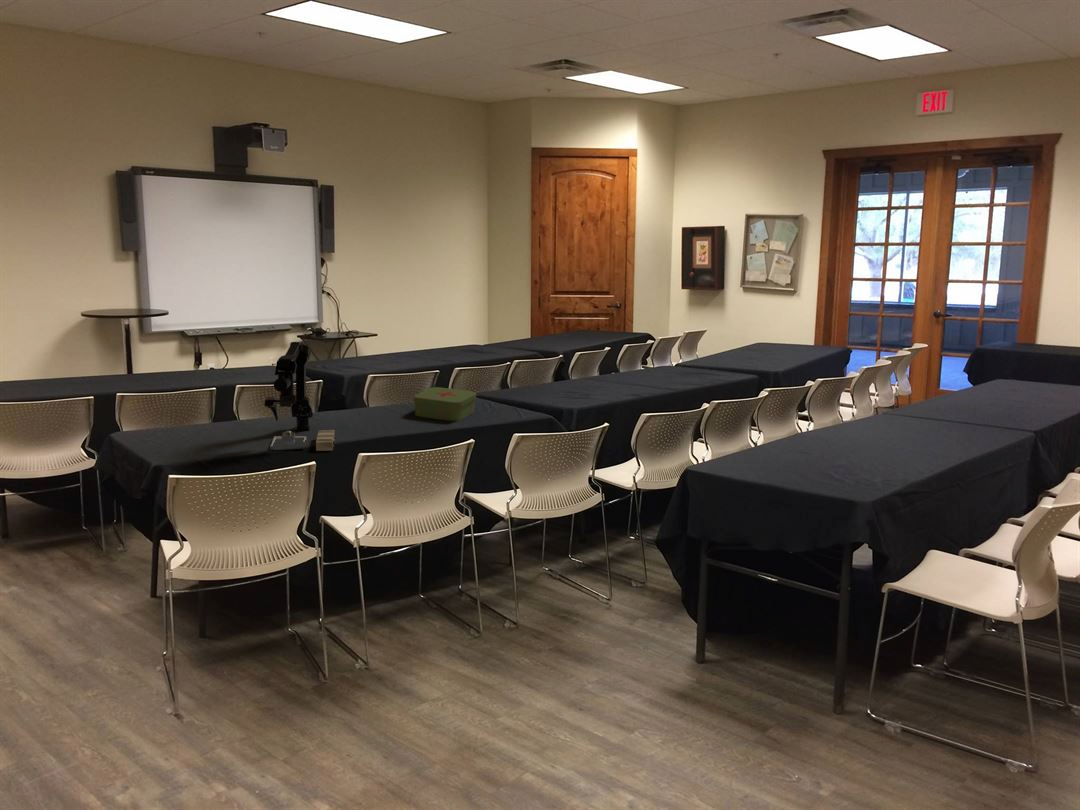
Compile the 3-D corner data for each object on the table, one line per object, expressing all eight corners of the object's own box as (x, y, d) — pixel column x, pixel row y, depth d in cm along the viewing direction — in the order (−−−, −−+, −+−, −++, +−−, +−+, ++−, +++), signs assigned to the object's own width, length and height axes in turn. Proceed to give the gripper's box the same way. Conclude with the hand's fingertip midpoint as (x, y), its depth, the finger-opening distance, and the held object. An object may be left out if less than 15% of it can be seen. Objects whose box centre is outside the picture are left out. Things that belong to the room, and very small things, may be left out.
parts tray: (274, 439, 398) (274, 436, 398) (306, 439, 401) (306, 436, 400) (270, 450, 383) (270, 447, 383) (303, 450, 385) (303, 446, 385)
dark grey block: (283, 441, 395) (283, 430, 393) (295, 441, 395) (294, 430, 394) (281, 446, 388) (281, 434, 387) (293, 446, 389) (293, 434, 387)
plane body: (318, 438, 403) (318, 430, 402) (334, 438, 404) (334, 430, 403) (316, 450, 386) (315, 441, 384) (332, 450, 387) (332, 441, 386)
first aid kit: (410, 416, 447) (410, 396, 445) (432, 404, 471) (433, 386, 469) (458, 422, 439) (458, 403, 437) (478, 410, 463) (478, 391, 461)
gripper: (262, 390, 376) (263, 425, 380) (307, 390, 379) (308, 425, 383) (265, 384, 386) (266, 418, 390) (309, 384, 390) (310, 418, 393)
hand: (287, 420), depth 389 cm, fingers open, 9 cm apart
